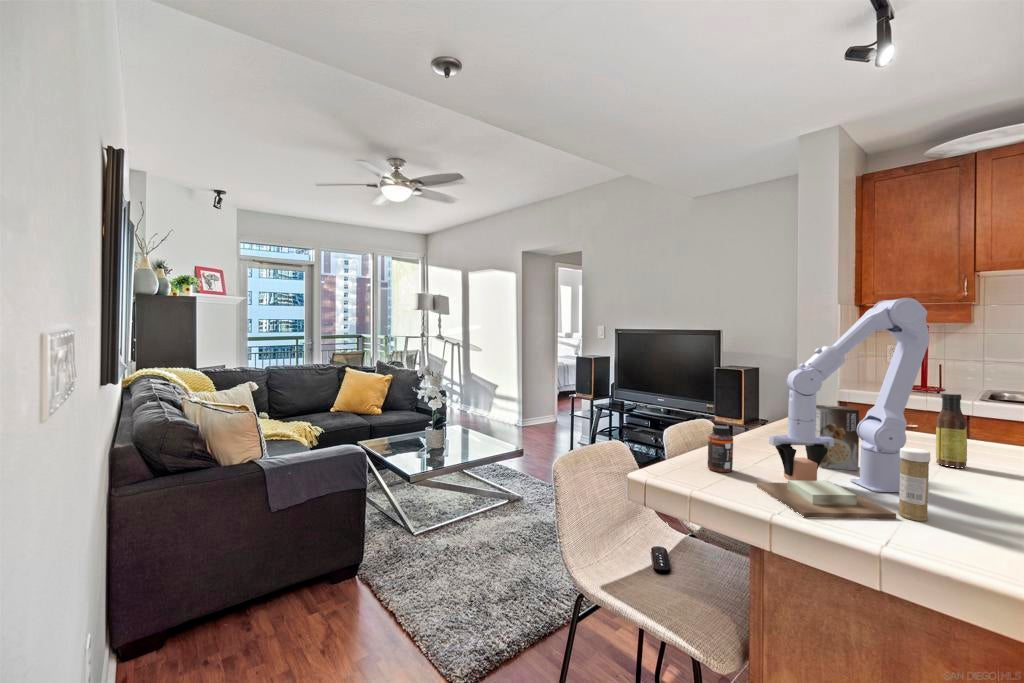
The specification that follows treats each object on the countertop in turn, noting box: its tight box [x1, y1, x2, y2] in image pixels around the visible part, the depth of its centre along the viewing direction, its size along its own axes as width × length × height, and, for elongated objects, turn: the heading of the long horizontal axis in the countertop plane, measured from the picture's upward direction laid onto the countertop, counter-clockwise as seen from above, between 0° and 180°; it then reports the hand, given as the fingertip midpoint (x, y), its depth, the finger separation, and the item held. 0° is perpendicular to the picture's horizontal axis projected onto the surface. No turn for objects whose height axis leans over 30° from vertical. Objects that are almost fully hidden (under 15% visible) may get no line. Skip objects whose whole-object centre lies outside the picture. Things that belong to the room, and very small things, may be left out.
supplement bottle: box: [707, 424, 734, 473], centre depth 124 cm, size 6×6×11 cm
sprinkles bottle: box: [897, 446, 931, 522], centre depth 94 cm, size 5×5×13 cm
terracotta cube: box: [783, 457, 818, 481], centre depth 116 cm, size 5×5×5 cm
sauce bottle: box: [935, 392, 968, 468], centre depth 130 cm, size 7×6×20 cm
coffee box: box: [815, 404, 860, 471], centre depth 129 cm, size 9×6×16 cm
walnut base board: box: [756, 479, 897, 520], centre depth 102 cm, size 18×18×3 cm
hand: (800, 474), depth 116 cm, fingers closed on terracotta cube, 5 cm apart
